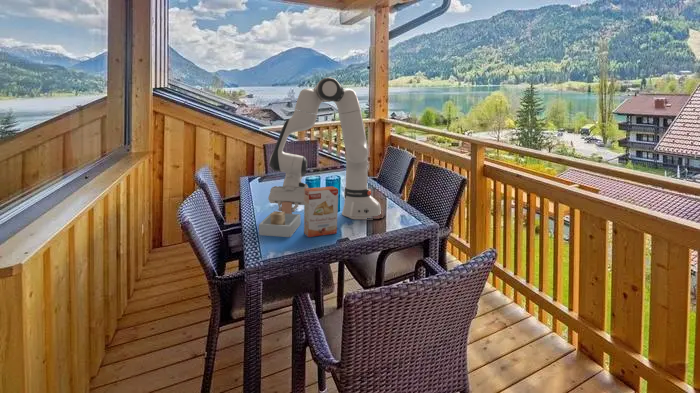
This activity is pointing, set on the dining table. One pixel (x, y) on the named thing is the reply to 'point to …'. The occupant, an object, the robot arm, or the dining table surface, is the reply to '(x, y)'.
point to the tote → (280, 226)
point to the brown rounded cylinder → (287, 207)
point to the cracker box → (320, 211)
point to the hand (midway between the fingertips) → (286, 211)
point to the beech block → (278, 218)
